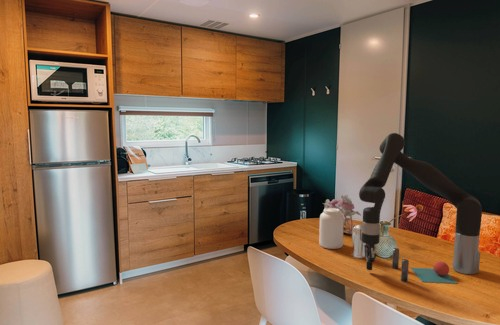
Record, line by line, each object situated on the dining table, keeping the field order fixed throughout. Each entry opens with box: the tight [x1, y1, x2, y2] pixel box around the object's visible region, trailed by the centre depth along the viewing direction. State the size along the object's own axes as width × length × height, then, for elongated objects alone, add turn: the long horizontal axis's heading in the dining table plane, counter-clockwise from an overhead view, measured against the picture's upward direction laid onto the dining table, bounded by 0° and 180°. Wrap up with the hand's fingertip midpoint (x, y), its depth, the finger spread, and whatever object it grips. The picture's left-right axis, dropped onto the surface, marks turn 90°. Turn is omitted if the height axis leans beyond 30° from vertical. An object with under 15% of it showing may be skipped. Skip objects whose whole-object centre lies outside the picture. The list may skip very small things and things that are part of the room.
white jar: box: [318, 207, 345, 250], centre depth 190 cm, size 12×12×20 cm
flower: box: [322, 194, 362, 235], centre depth 214 cm, size 20×22×25 cm
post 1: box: [391, 247, 400, 270], centre depth 161 cm, size 3×3×9 cm
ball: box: [433, 261, 450, 276], centre depth 154 cm, size 6×6×6 cm
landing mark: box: [410, 267, 458, 285], centre depth 154 cm, size 14×14×1 cm
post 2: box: [400, 258, 410, 283], centre depth 149 cm, size 3×3×9 cm
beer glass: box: [351, 224, 366, 259], centre depth 175 cm, size 7×7×15 cm
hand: (369, 269), depth 157 cm, fingers closed
